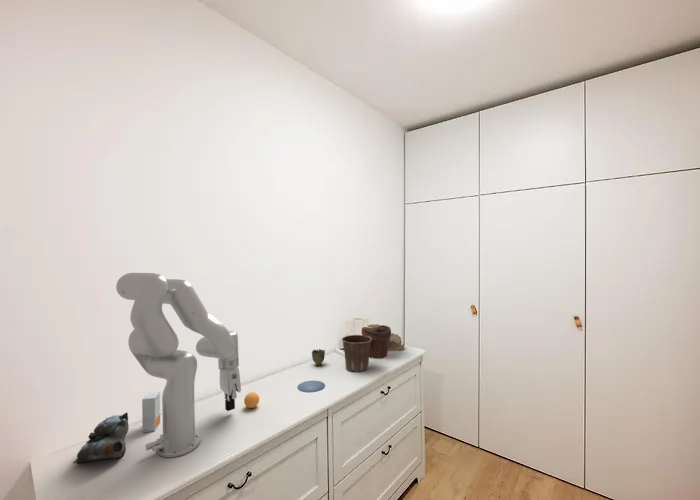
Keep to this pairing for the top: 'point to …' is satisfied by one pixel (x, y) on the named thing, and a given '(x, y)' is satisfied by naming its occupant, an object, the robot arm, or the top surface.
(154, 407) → the skincare box
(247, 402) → the ball
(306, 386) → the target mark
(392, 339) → the ceramic model
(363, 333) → the brown lidded basket
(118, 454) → the lucky cat figurine
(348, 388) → the top surface
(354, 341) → the plant pot
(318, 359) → the cup
